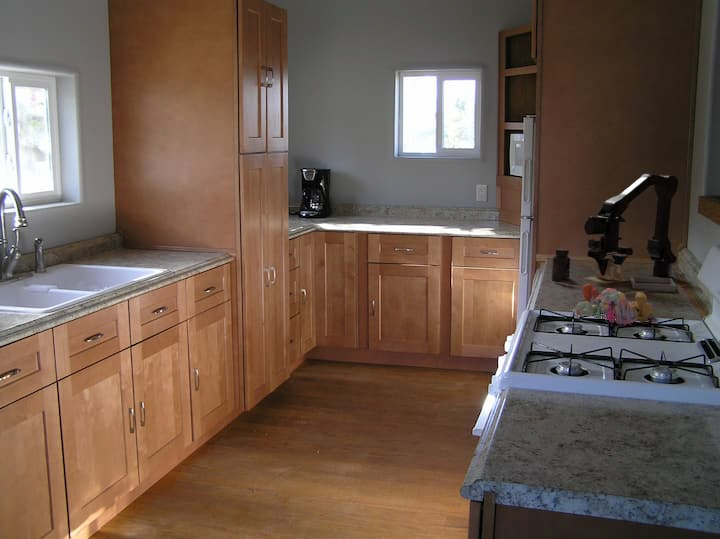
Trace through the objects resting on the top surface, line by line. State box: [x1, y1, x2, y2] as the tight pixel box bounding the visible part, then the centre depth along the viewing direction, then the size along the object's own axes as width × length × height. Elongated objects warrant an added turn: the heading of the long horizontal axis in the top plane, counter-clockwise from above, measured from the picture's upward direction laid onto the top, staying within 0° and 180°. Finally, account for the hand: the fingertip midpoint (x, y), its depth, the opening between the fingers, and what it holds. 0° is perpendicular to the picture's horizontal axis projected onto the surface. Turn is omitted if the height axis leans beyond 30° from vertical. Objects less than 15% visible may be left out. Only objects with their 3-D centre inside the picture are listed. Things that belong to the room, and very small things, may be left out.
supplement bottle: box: [551, 248, 572, 283], centre depth 297 cm, size 7×7×12 cm
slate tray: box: [630, 276, 677, 293], centre depth 286 cm, size 14×14×2 cm
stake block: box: [582, 257, 629, 284], centre depth 297 cm, size 12×12×9 cm
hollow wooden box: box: [595, 263, 623, 280], centre depth 297 cm, size 6×8×5 cm
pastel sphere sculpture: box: [571, 283, 657, 326], centre depth 242 cm, size 25×24×9 cm
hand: (608, 274), depth 298 cm, fingers closed on hollow wooden box, 6 cm apart
